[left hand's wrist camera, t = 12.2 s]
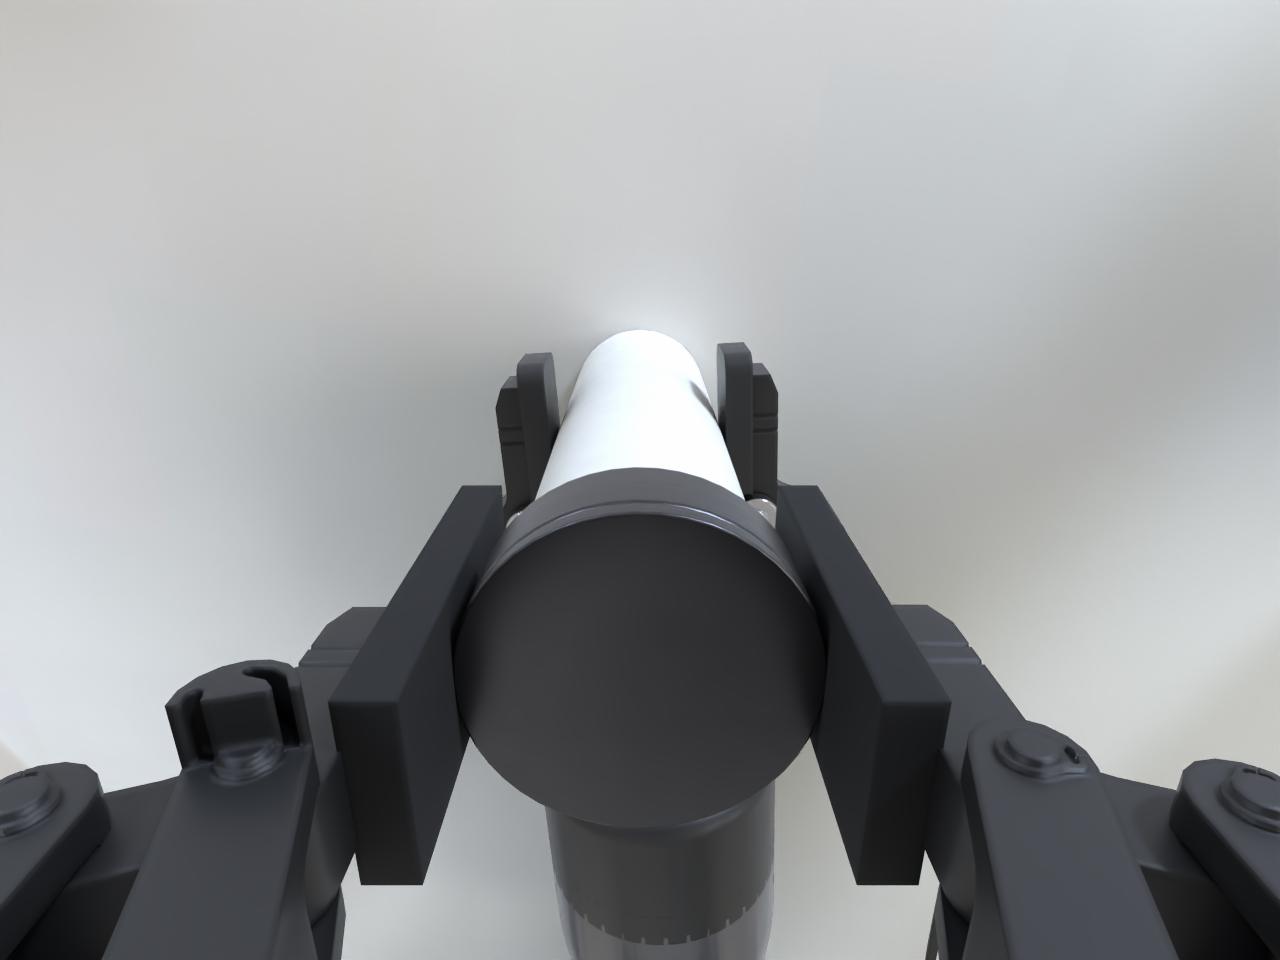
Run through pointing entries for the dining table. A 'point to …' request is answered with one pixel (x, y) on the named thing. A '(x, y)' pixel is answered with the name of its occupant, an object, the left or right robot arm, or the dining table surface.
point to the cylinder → (639, 415)
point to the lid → (640, 651)
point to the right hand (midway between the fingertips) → (633, 356)
